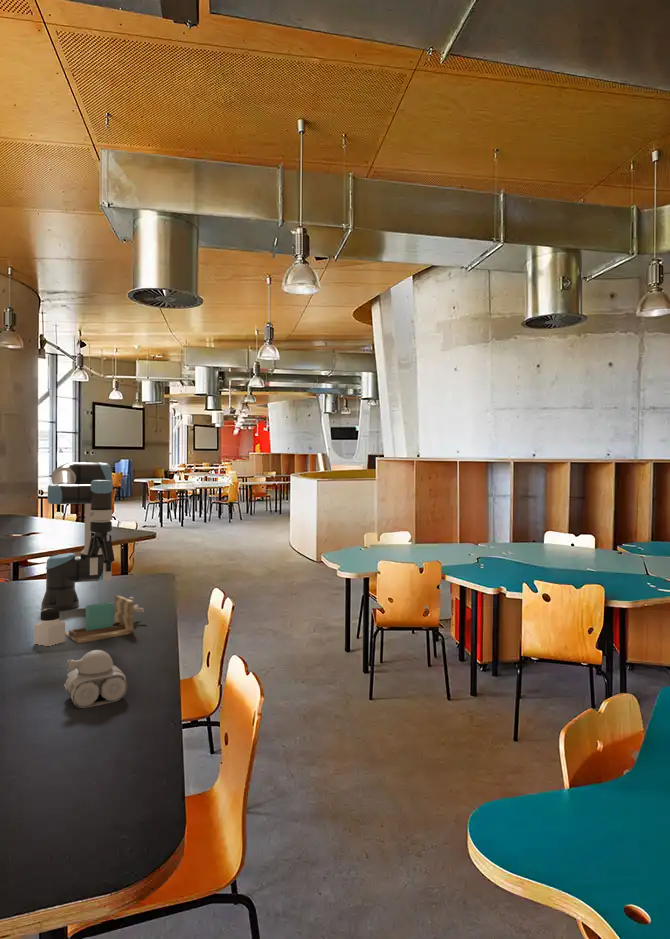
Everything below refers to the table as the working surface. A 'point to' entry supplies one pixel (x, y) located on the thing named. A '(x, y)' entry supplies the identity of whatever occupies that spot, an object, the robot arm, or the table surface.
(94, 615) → the teal rectangular block
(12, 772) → the table surface
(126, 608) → the wooden slatted rack
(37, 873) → the table surface
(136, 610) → the pipe connector
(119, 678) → the toy tank
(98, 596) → the table surface
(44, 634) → the medicine bottle
